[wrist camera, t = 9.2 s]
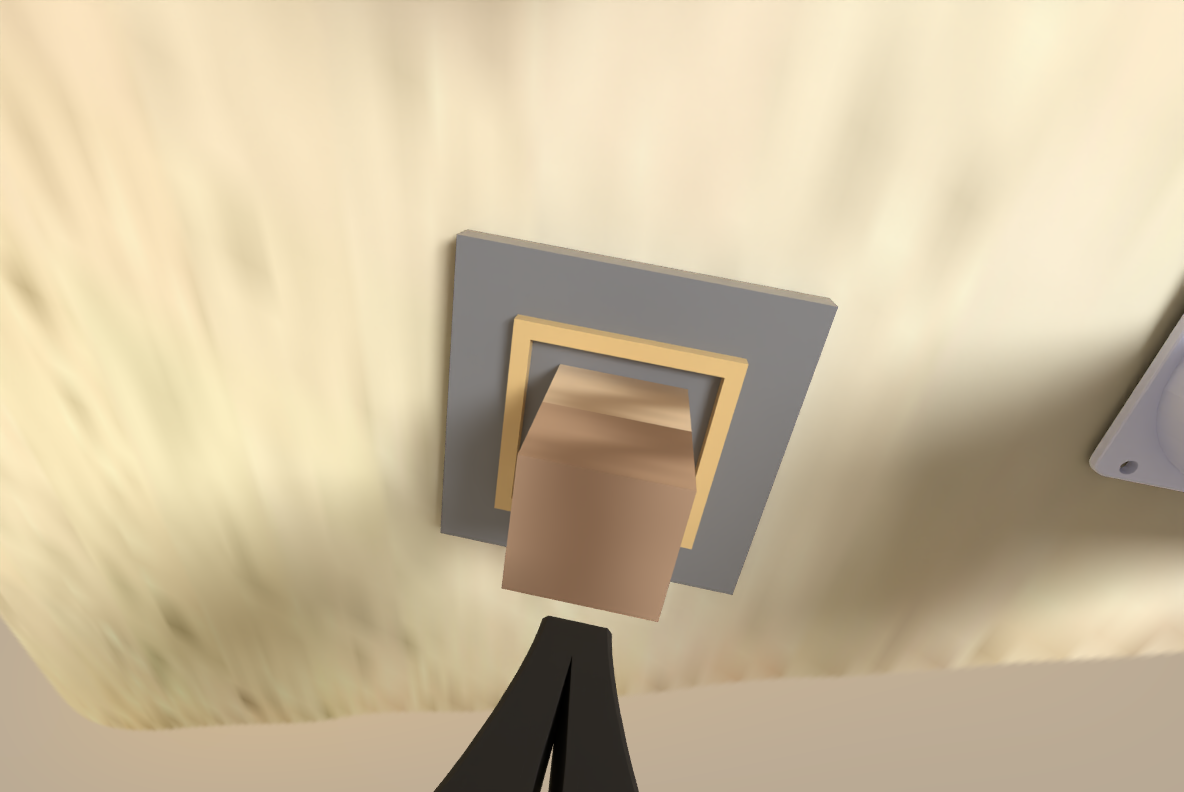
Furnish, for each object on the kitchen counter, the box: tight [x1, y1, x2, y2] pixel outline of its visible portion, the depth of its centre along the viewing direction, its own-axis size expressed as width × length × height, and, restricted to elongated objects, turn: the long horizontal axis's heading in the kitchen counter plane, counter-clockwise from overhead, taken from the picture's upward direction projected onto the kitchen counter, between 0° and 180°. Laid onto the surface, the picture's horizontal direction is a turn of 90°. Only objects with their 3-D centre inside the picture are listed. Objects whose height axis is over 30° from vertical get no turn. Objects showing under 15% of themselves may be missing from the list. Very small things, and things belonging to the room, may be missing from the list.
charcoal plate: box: [441, 230, 838, 595], centre depth 20 cm, size 12×12×2 cm
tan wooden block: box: [502, 364, 697, 622], centre depth 17 cm, size 4×4×6 cm
